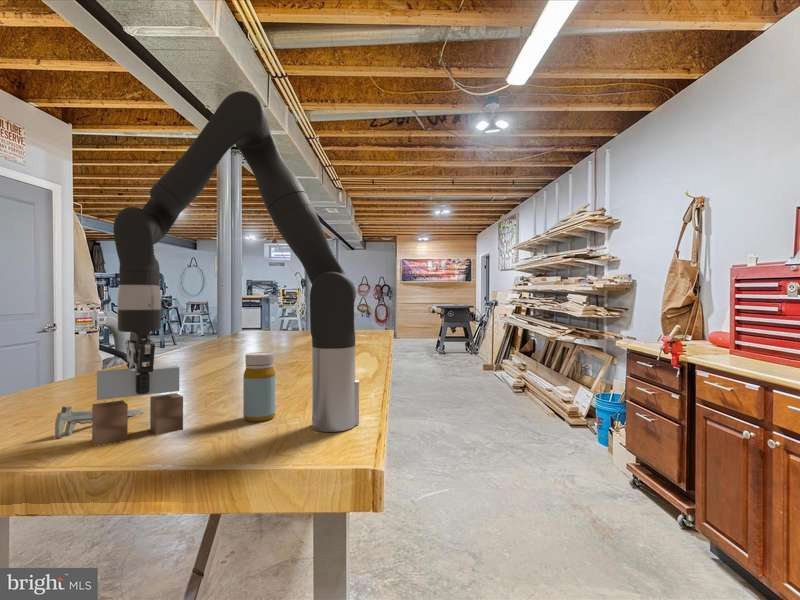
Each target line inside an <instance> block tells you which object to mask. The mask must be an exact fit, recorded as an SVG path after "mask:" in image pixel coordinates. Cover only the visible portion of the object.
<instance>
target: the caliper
mask: <svg viewBox="0 0 800 600" xmlns="http://www.w3.org/2000/svg"><path fill="white" fill-rule="evenodd" d="M144 412H145V411H144V410H141V409H140V408H133V409H128V417H134V415H136V416H139V415H141V414H145V413H144ZM138 414H139V415H138ZM66 422H67V423H66ZM77 424H81V425H85V424H86V425H87V424H92V410H90V409H89V410H73V406H62V407H61V411H60V412H58V413H57V415H56V419H55V422H54V437H55V438H57V439H62V437H63V433H64V435H65V436H64V437H70V436H71V435H72V433H73V431H74V430H75V427H76V425H77ZM69 435H70V436H69Z"/></svg>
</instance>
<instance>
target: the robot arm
mask: <svg viewBox="0 0 800 600" xmlns="http://www.w3.org/2000/svg"><path fill="white" fill-rule="evenodd" d="M234 145H235V147H236V148H237V149H238V151H239V152H240V154H241V155H242V157H243V158H244V160H245V162H246V163H247V164H248V166H249V167H250V169H251V172H252V173H253V176H254V178H255V181H256V185H257V188H258V190H259V193H260V196H261V199H262V201H263V204H264V206H265V208H266V210H267V212H268V215H269V216H270V218H271V220H272V223H273V225H275V227H276V229H277V231H278V233H279V234H280V236H281V237H282V238H283V240H284V241H285V242H286V244H287V245H288V247H289V248H290V250H291V251H292V252H293V253H294V254H295V256H296V257H297V258H298V259H297V260H299V262H300V263H301V264H302V266H303V268H304V270H305V272H306V274H307V277H308V279H309V282H310V284H311V287H310V292H309V326H310V327H309V329H310V330H309V331H310V335H311V342H312V343H311V362H312V363H311V371H312V372H311V378H312V379H311V390H312V393H311V394H312V395H311V409H312V410H311V413H312V414H311V416H312V417H311V425H312V429H314V430H315V431H319V432H325V433H329V432H330V433H334V432H335V433H337V432H343V431H347V430H351V429H353V428H354V427H355V426H357V425H360V382H359V380H358V379H356V332H355V302H356V297H357V291H356V287H355V284H354V283H353V282H352V280H351V279H350V277H349V275H347V273H346V271H344V269H343V268H342V266H341V264H340V262H339V261H338V259H337V258H336V256H335V254H334V253H333V251H332V248H331V246H330V244H329V241H328V238H327V236H326V233H325V231H324V229H323V226H322V223H321V220H320V219H319V217H318V214H317V212H316V210H315V208H314V206H313V204H312V202H311V200H310V198H309V196H308V194H307V192H306V190H305V189H304V187H303V185H302V183H301V182H300V181H299V178H298V177H297V176H296V175H295V174H294V172H293V171H292V169H291V168H290V167H289V166H288V165H287V163H286V162H285V161H284V159H283V157H282V155H281V153H280V150H279V148H278V146H277V143H276V141H275V138H274V136H273V133H272V131H271V126H270V123H269V120H268V117H267V113H266V110H265V107H264V105H263V103H262V101H261V100H260V99H259V97H257V96H256V95H254V93H251V92H249V91H245V90H243V91H242V90H238V91H234V92H232V93H230V94H229V95H227V96H226V97H225V98H224V99H223V100H222V101H221V103H220V104H219V106H218V107H217V108H216V109H215V112H214V113H213V114H212V116H211V117H210V119H209V120H208V122H207V123H206V125H205V126H204V127H203V128H202V130H201V132H199V134H198V135H197V136H196V138H195V139H194V141H193V142H192V144H191V145H190V146H189V148H188V149H186V151H185V152H184V154H182V155H181V157H180V158H179V159H178V160H177V161H176V162H175V163H174V164H173V166H171V168H169V169H168V170H167V171H166V172H165V173H164V174H162V176H161V177H160V178H159V179H158V180H157V182H155V183H154V184H153V185H152V187H151V188H150V190H149V199H148V200H147V202H146V203H145V204H144V206H143V207H137V206H128V207H125V208H123V209H121V210H120V211H118V213H117V214H116V216H115V219H114V220H113V228H112V229H113V239H114V244H115V249H116V254H117V257H118V262H119V271H118V273H119V275H118V277H119V279H118V280H119V284H118V285H119V286H118V293H117V330H118V332H120V333H121V332H122V333H129V339H127V340H126V341H125V346H126V367H127V369H131V368H135V374H136V393H137V394H147V393H149V374H151V372H153V367H154V363H155V351H156V350H155V349H156V344H155V343H154V341H153V339H151V334H150V332H157V331H160V330H161V329H162V295H161V287H160V282H161V281H160V278H161V277H160V276H161V271H160V263H159V260H157V258H156V257H155V249H154V245H156V244H158V243H159V242H160V241H161V240H162V239H164V237H165V236H166V235H167V234H168V233H169V231H170V230H171V228H172V227H173V225H174V224H175V222H176V221H177V219H178V218H179V215H180V214H181V213H182V212H183V211H184V210H185V209H187V207H189V205H190V204H191V203H192V202H193V201H195V199H196V198H197V197H198V196H199V195H200V194H201V193H202V191H203V190H204V188H205V187H206V186H207V185H208V182H209V181H210V179H211V177H212V176H213V174H214V172H215V170H216V168H217V166H218V165H219V164H220V162H221V160H222V158H223V157H224V156H225V155H226V153H227V152H228V151H229V150H230V149H231V148H232V147H233V146H234Z"/></svg>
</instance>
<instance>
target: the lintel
mask: <svg viewBox="0 0 800 600" xmlns="http://www.w3.org/2000/svg"><path fill="white" fill-rule="evenodd" d="M176 392H180V366H179V365H178V364H171V365H158V366H157V365H156V366H153V372H151V374H149V393H147V394H137V393H136V374H135V368H131V369H129V368H120V369H107V370H97V371H96V401H103V400H112V399H121V398H129V397H137V396H140V397H141V396H146V395H148V396H149V395H155V394H156V395H157V394H166V393H176Z"/></svg>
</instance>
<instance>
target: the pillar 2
mask: <svg viewBox="0 0 800 600" xmlns="http://www.w3.org/2000/svg"><path fill="white" fill-rule="evenodd" d="M149 398H150V400H149V404H150V407H149V408H150V409H149V413H150V415H149V417H150V419H149V423H150V429H149V430H150V431H152V433H154V434H155V435H156V436H157V435H162V434H163V435H164V434H167V433H174V432H177V431H178V430H179V431H184V396H182V395H181V394H178V393H177V392H171V393H167V394H166V393H164V394H158V395H157V394H156V395H152V396H151V395H150V397H149ZM179 431H178V432H179Z"/></svg>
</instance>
